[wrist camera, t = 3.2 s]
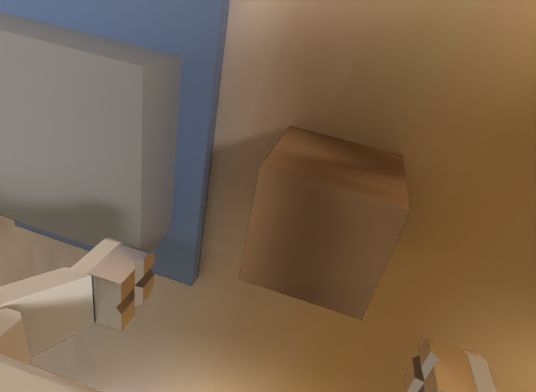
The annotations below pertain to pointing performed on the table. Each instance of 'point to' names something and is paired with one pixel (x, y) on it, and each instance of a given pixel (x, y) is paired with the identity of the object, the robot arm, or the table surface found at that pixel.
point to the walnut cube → (325, 220)
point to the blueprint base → (197, 99)
